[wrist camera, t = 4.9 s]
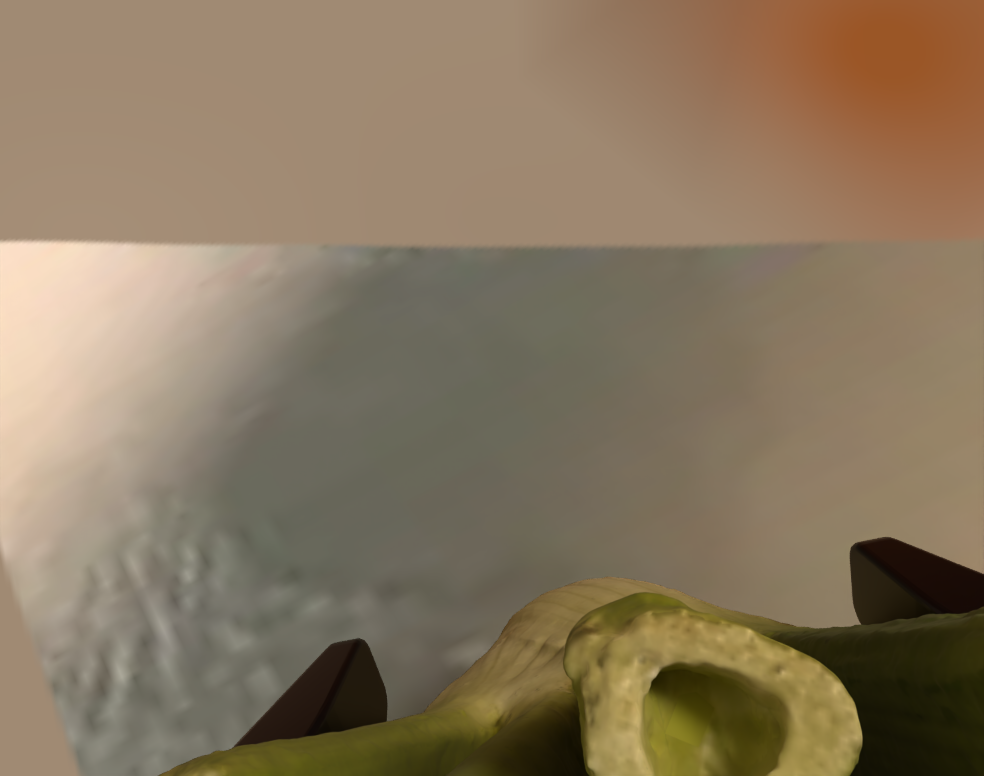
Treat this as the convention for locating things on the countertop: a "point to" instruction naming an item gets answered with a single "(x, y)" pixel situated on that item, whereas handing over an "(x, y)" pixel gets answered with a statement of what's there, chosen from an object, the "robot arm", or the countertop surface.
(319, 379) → the countertop surface
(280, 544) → the countertop surface
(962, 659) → the fennel bulb
